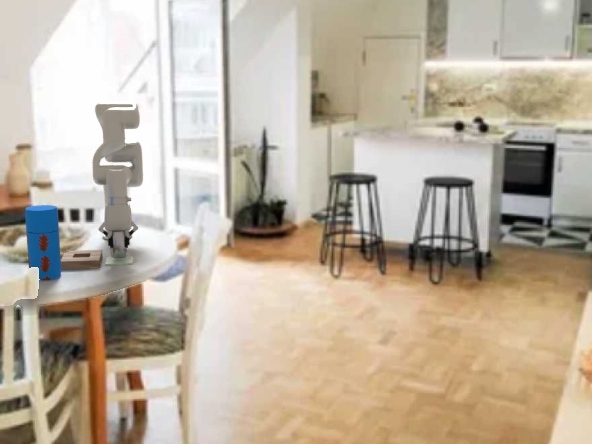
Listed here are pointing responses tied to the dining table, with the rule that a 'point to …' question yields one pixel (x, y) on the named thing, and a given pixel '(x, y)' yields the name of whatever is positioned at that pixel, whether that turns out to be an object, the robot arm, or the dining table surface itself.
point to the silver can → (119, 244)
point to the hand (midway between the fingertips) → (119, 246)
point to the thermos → (43, 240)
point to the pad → (119, 261)
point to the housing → (81, 259)
